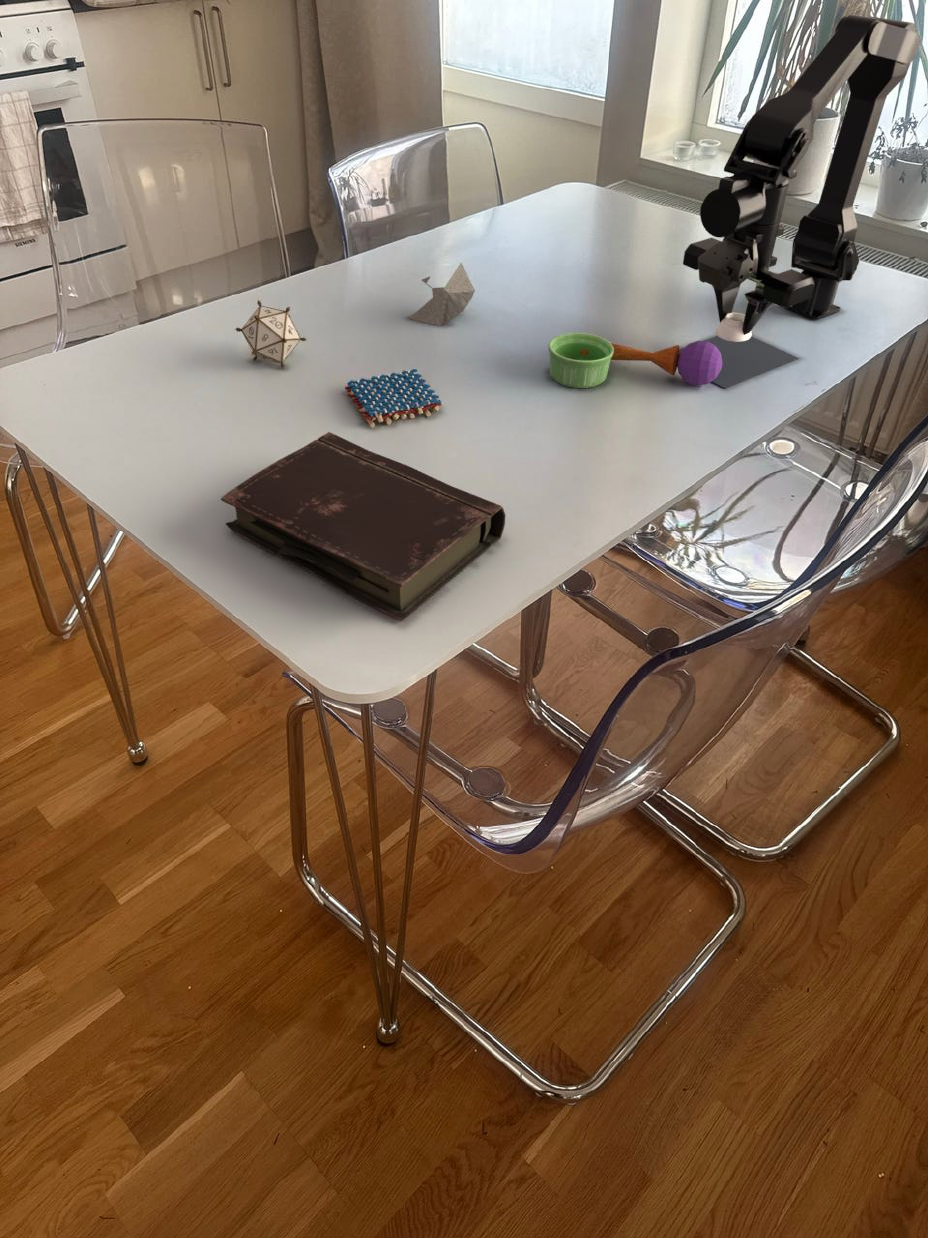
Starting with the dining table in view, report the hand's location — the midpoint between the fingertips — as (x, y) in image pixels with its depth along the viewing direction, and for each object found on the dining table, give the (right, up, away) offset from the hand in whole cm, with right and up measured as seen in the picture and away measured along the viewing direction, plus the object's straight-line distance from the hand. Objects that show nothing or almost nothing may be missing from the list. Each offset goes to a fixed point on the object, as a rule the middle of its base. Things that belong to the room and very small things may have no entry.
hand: (734, 329), depth 134 cm
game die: (-66, -5, -1) cm, 66 cm away
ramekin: (-23, -8, -3) cm, 24 cm away
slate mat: (0, -3, +2) cm, 4 cm away
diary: (-50, -33, -32) cm, 68 cm away
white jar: (0, -1, +1) cm, 1 cm away
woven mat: (-48, -13, -9) cm, 51 cm away
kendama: (-13, -7, -2) cm, 15 cm away
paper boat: (-42, +6, +12) cm, 44 cm away
